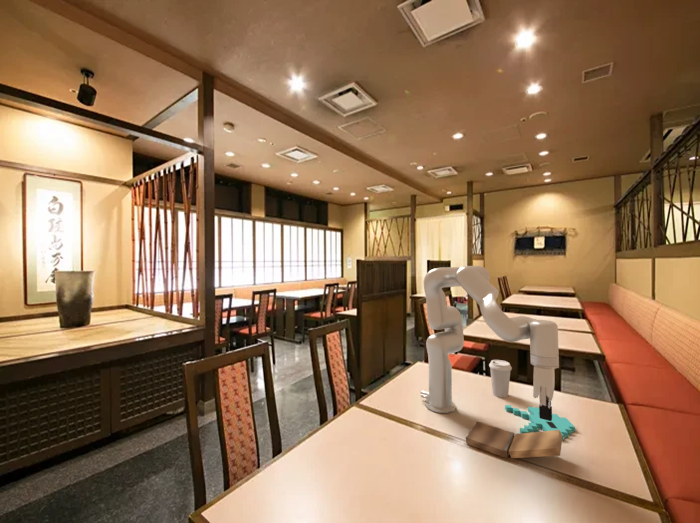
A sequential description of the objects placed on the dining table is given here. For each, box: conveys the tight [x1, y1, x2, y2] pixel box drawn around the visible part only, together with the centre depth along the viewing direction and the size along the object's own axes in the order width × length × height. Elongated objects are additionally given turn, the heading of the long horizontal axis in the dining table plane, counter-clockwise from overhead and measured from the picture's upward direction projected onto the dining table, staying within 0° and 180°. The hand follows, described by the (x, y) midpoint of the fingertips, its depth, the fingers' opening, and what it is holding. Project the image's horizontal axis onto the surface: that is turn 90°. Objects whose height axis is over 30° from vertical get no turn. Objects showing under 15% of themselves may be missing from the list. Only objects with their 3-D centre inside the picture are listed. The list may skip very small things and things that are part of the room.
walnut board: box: [465, 420, 516, 459], centre depth 105 cm, size 13×13×2 cm
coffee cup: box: [488, 359, 513, 399], centre depth 141 cm, size 10×10×15 cm
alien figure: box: [504, 404, 576, 442], centre depth 115 cm, size 20×2×20 cm
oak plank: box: [508, 430, 563, 459], centre depth 96 cm, size 14×12×2 cm
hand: (545, 418), depth 94 cm, fingers closed
